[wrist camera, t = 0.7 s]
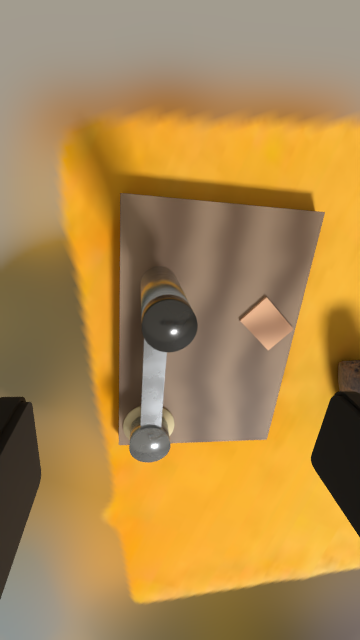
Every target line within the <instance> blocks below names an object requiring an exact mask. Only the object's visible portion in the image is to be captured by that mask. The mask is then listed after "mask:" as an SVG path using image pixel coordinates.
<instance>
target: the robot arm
mask: <svg viewBox="0 0 360 640" xmlns="http://www.w3.org/2000/svg"><path fill="white" fill-rule="evenodd" d="M311 462H312V465H313V467H314V469H315V471H316V472H317V474H318V475H319V477H320V478H321V480H322V481H323V483H324V484H325V486H326V487H327V489H328V490H329V492H330V493H331V495H332V496H333V498H334V499H335V501H336V502H337V504H338V505H339V507H340V508H341V510H342V511H343V513H344V514H345V516H346V517H347V519H348V520H349V522H350V523H351V525H352V526H353V528H354V529H355V531H356V532H357V534H358V535H359V537H360V393H358V392H355V391H340V392H337V393H336V394H335V395H334V396H333V397H332V398H331V399H330V402H329V405H328V408H327V411H326V414H325V417H324V420H323V423H322V426H321V429H320V431H319V434H318V437H317V440H316V443H315V446H314V449H313V452H312V455H311ZM40 479H41V467H40V460H39V452H38V445H37V438H36V430H35V422H34V414H33V407H32V403H31V402H26V401H25V398H24V397H1V398H0V599H1V595H2V593H3V590H4V587H5V584H6V581H7V578H8V575H9V572H10V569H11V566H12V563H13V560H14V557H15V554H16V552H17V549H18V546H19V543H20V540H21V537H22V534H23V531H24V528H25V525H26V522H27V519H28V516H29V513H30V510H31V507H32V504H33V502H34V498H35V496H36V493H37V490H38V487H39V484H40Z"/></svg>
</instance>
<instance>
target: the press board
mask: <svg viewBox="0 0 360 640" xmlns="http://www.w3.org/2000/svg"><path fill="white" fill-rule="evenodd" d="M324 214H325V212H316V211H305V210H295V209H284V208H274V207H263V206H253V205H242V204H231V203H221V202H210V201H200V200H189V199H178V198H168V197H157V196H147V195H136V194H125V193H121V200H120V352H119V445H130V427H131V424H132V423H133V421H134V420H135V419H136V418H138V417H140V412H141V387H142V363H143V339H144V337H143V334H142V319H141V279H142V276H143V275H144V273H145V272H146V271H147V270H148V269H150V268H152V267H155V266H164V267H167V268H169V269H170V270H172V271H173V272H174V274H175V275H176V277H177V279H178V281H179V283H180V285H181V287H182V289H183V291H184V293H185V295H186V298H187V300H188V302H189V304H190V306H191V308H192V310H193V312H194V314H195V316H196V318H197V323H198V328H197V333H196V335H195V337H194V339H193V341H192V342H191V343H190V344H189V345H188V346H186V347H185V348H183V349H181V350H179V351H176V352H167V357H166V370H165V383H164V396H163V409H162V417H163V418H164V419H165V420H166V422H167V424H168V431H169V438H170V443H187V442H213V441H239V440H265V439H267V436H268V432H269V428H270V425H271V421H272V417H273V413H274V409H275V405H276V401H277V397H278V393H279V389H280V386H281V382H282V378H283V374H284V370H285V366H286V362H287V358H288V354H289V350H290V347H291V343H292V339H293V335H294V331H295V327H296V323H297V319H298V315H299V311H300V308H301V304H302V300H303V296H304V292H305V288H306V284H307V280H308V276H309V272H310V268H311V265H312V261H313V257H314V253H315V249H316V245H317V241H318V237H319V233H320V229H321V226H322V222H323V218H324Z"/></svg>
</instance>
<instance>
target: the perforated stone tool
mask: <svg viewBox="0 0 360 640" xmlns="http://www.w3.org/2000/svg"><path fill="white" fill-rule="evenodd" d="M338 384H339V390H340V391H355V392H358V393H360V360H355V361H341V362H340V363H339V366H338Z"/></svg>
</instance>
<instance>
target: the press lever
mask: <svg viewBox="0 0 360 640" xmlns="http://www.w3.org/2000/svg"><path fill="white" fill-rule="evenodd" d="M141 319H142V334H143V337H144V339H143V363H142V387H141V412H140V417H138V418H136V419H135V420H134V421H133V423H132V424H131V427H130V446H129V449H130V453H131V455H132V456H133V457H134V458H135V459H137V460H139V461H141V462H154V461H158V460H160V459H162V458H163V457H164V456H166V455H167V453H168V452H169V450H170V438H169V431H168V424H167V422H166V420H165V419H164V418H163V417H162V409H163V396H164V383H165V370H166V357H167V352H176V351H179V350H181V349H183V348H185V347H186V346H188V345H189V344H190V343H191V342H192V341H193V339H194V337H195V335H196V333H197V328H198V323H197V318H196V316H195V314H194V312H193V310H192V308H191V306H190V304H189V302H188V300H187V298H186V295H185V293H184V291H183V289H182V287H181V285H180V283H179V281H178V279H177V277H176V275H175V274H174V272H173V271H172V270H170V269H169V268H167V267H164V266H155V267H152V268H150V269H148V270H147V271H146V272H145V273H144V275H143V276H142V279H141Z"/></svg>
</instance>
